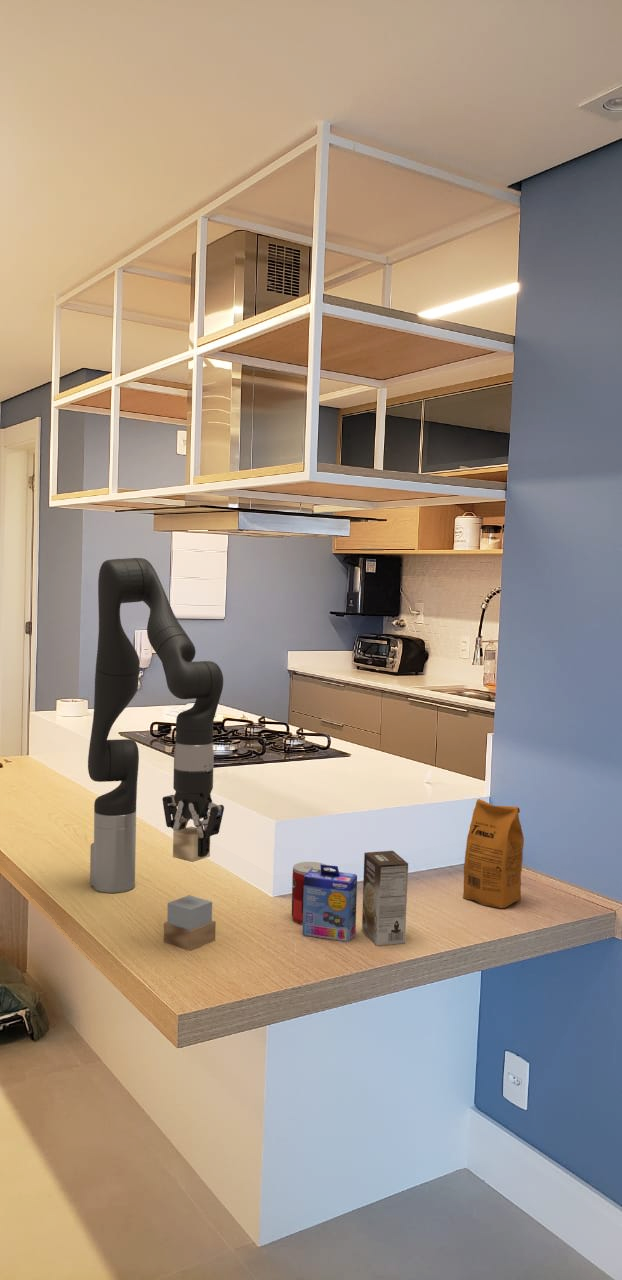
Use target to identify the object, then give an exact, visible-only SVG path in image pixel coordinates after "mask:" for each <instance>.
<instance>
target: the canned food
mask: <svg viewBox="0 0 622 1280" xmlns="http://www.w3.org/2000/svg"><path fill="white" fill-rule="evenodd" d="M320 864H322V865H327V864H326V863H322V862H318V861H301V862H297V863H295V864H293V867H292V877H291V878H292V882H291V883H292V884H291V885H292V886H291V890H292V891H291V917H292V920H293V921H294V922H295V921H296V923H297V922H298V924H300V923H301V924H300V925H303V894H304V876H305V874H306V873H308V872H309V871H310V870H311V869H318V870H321V866H320ZM324 870H330V871H331V868H324Z"/></svg>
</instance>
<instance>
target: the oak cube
mask: <svg viewBox="0 0 622 1280" xmlns="http://www.w3.org/2000/svg"><path fill="white" fill-rule="evenodd" d="M204 831H205V830H204ZM172 835H173V836H172V837H173V838H172V839H173V840H172V858H175V859H179V860H183V861H187V862H190V863H194V862H197V861H201V860H203V859H206V858H209V857H211V843H210V844H209V853H208V854H207V856H204V857H198V838H200V837H199V835H198V831H197V827H196V826H186V828H184V829H180V830H177V831H173V834H172Z"/></svg>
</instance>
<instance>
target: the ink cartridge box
mask: <svg viewBox="0 0 622 1280" xmlns="http://www.w3.org/2000/svg"><path fill="white" fill-rule="evenodd" d="M320 866H321V870H318V869H311V870H310V871H309V872H308V873H306V874H305V876H304V894H303V924H302V930H301V931H302V934H301V935H302V936H306V937H313V938H319V939H327V940H332V941H333V940H334V941H341V942H350V940H352V939H353V937H354V936H355V935H356V933H357V932H356V931H357V930H356V929H357V924H356V923H357V899H358V898H357V895H358V891H357V890H358V875H357V874H356V873H351V872H342V871H340V870H339V867H338V866H337V865H329V864H326V865H322V864H320ZM324 868H330V870H324ZM331 869H332V870H331Z"/></svg>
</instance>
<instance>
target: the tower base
mask: <svg viewBox="0 0 622 1280" xmlns="http://www.w3.org/2000/svg"><path fill="white" fill-rule="evenodd" d="M216 923H217V921H215V920H213V919H212V922H211V923H208V924H206V925H203V926H201V927H198V928H196V929H193V930H191V931H190V930H187V929H184V928H180V927H177V926H174V925H171V924H168V923H167V921H166V922H163V943H165V944H168V945H171V946H175V947H178V948H180V949H184V950H186V951H190V952H191V951H194V950H197V949H199V948H201V947H202V946H205V945H208V944H210V943H212V942H214V941H216Z"/></svg>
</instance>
